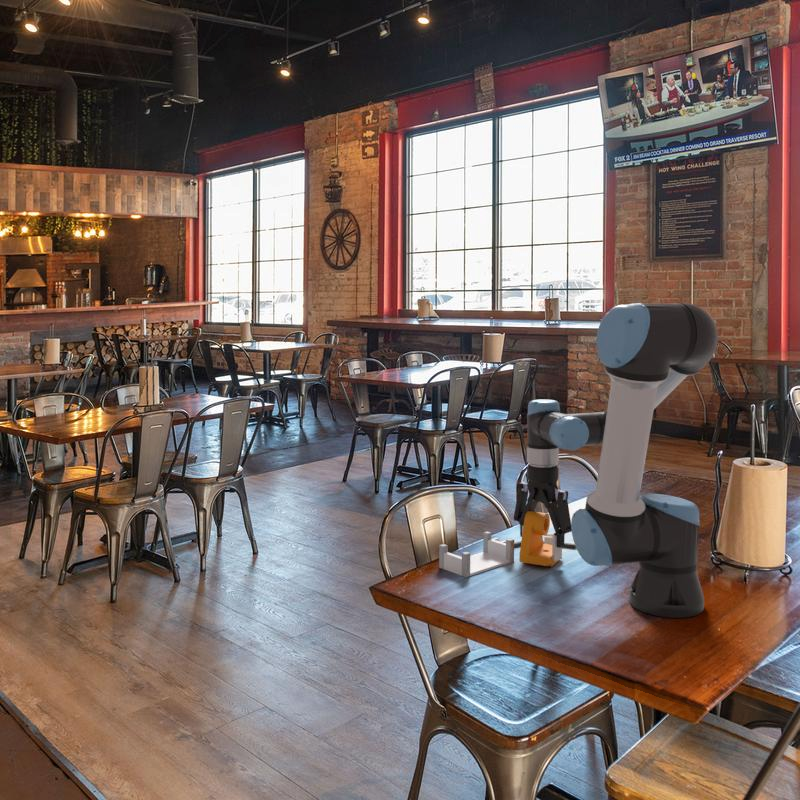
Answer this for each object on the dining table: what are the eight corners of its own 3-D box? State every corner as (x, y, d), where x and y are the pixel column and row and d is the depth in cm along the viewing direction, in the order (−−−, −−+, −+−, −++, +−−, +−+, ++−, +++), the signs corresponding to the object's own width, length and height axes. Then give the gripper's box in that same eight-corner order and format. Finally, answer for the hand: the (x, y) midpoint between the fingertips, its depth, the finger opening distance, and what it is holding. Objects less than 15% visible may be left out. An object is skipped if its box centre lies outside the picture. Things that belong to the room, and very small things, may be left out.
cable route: (577, 548, 215) (577, 538, 215) (490, 553, 211) (490, 543, 211) (568, 540, 221) (568, 531, 221) (484, 546, 217) (484, 536, 217)
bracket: (548, 569, 198) (549, 520, 197) (519, 565, 202) (519, 516, 200) (562, 557, 207) (563, 509, 206) (535, 552, 211) (535, 506, 209)
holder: (514, 561, 205) (514, 539, 204) (465, 577, 195) (466, 554, 194) (487, 552, 212) (487, 531, 211) (439, 567, 201) (439, 545, 201)
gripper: (589, 468, 196) (587, 562, 199) (519, 455, 212) (518, 542, 215) (569, 473, 191) (567, 569, 194) (498, 459, 207) (498, 548, 210)
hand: (541, 555), depth 204 cm, fingers closed on bracket, 9 cm apart
